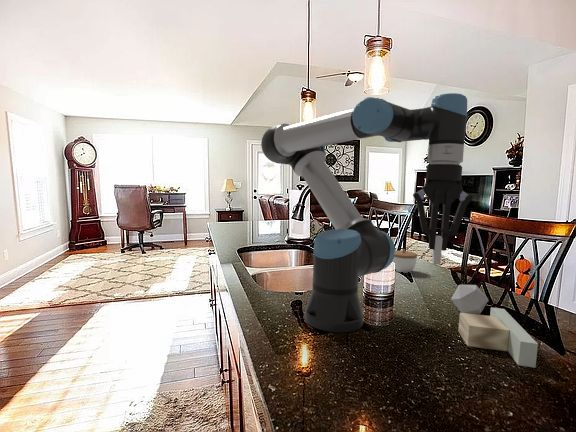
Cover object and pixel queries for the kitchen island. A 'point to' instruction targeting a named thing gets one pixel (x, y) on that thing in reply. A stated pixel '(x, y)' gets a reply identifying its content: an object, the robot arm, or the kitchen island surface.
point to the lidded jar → (404, 261)
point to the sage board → (518, 340)
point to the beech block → (483, 331)
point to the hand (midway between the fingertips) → (436, 263)
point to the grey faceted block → (469, 299)
